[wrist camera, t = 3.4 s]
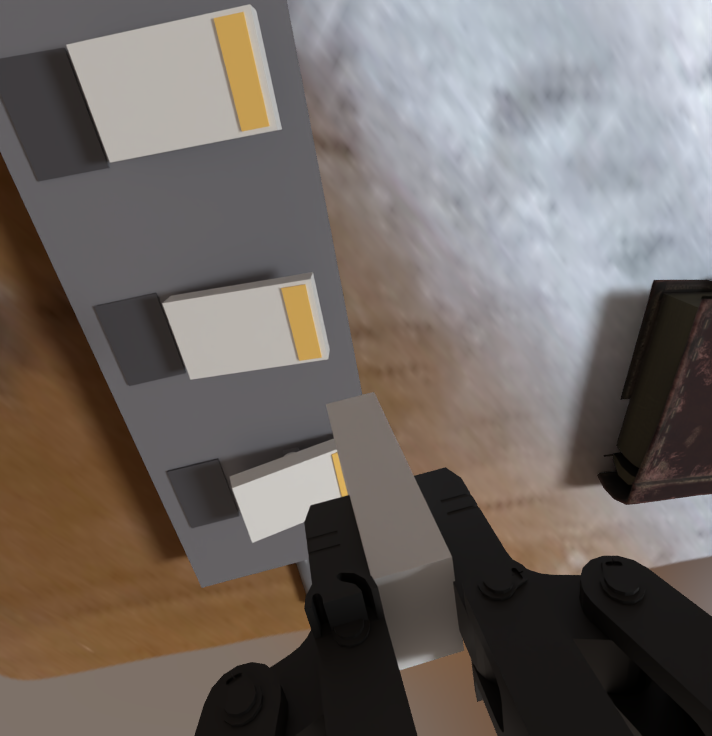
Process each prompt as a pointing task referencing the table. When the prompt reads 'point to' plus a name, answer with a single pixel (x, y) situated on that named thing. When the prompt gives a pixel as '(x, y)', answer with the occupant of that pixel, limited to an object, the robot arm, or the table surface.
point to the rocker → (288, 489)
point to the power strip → (179, 265)
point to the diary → (668, 400)
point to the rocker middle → (249, 326)
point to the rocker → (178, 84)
